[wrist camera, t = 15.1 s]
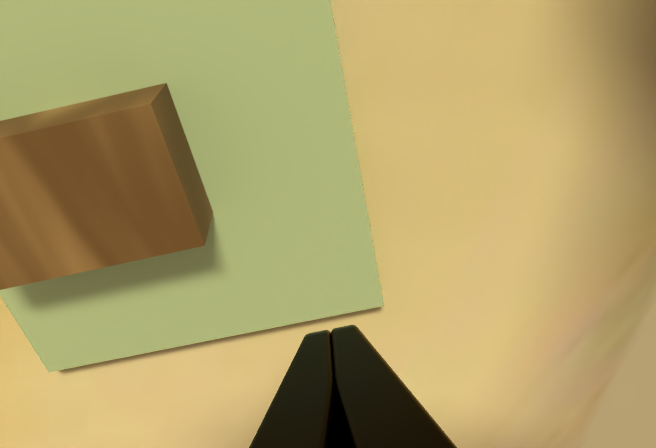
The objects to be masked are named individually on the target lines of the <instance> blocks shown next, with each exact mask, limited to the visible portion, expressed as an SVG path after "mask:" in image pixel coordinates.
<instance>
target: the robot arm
mask: <svg viewBox="0 0 656 448" xmlns="http://www.w3.org/2000/svg"><path fill="white" fill-rule="evenodd" d="M249 448H457V447H456V446H455V445H454V444H453V442H452V441H451V440H450V439H449V438H448V436H447V435H446V434H445V433H444V431H443V430H442V429H441V428H440V427H439V425H438V424H437V423H436V422H435V421H434V419H433V418H432V417H431V416H430V415H429V413H428V412H427V411H426V410H425V408H424V407H423V406H422V405H421V404H420V402H419V401H418V400H417V399H416V398H415V396H414V395H413V394H412V393H411V392H410V390H409V389H408V388H407V387H406V386H405V384H404V383H403V382H402V381H401V379H400V378H399V377H398V376H397V375H396V373H395V372H394V371H393V370H392V369H391V367H390V366H389V365H388V364H387V363H386V361H385V360H384V359H383V358H382V357H381V355H380V354H379V353H378V352H377V350H376V349H375V348H374V347H373V346H372V344H371V343H370V342H369V341H368V340H367V338H366V337H365V336H364V335H363V334H362V332H361V331H360V330H359V329H358V328H357V327H356V326H355V325H349V326H344V327H339V328H334V329H333V330H332V332H330V331H328V330H324V331H319V332H314V333H309V334H307V335H306V336H305V337H304V339H303V341H302V343H301V345H300V347H299V349H298V351H297V353H296V355H295V357H294V359H293V361H292V363H291V365H290V367H289V369H288V371H287V373H286V375H285V377H284V379H283V381H282V383H281V385H280V387H279V389H278V391H277V393H276V395H275V397H274V399H273V401H272V403H271V405H270V407H269V409H268V411H267V413H266V415H265V417H264V419H263V421H262V423H261V425H260V427H259V429H258V431H257V433H256V435H255V437H254V439H253V441H252V443H251V445H250V447H249Z"/></svg>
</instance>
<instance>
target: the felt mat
mask: <svg viewBox="0 0 656 448" xmlns="http://www.w3.org/2000/svg"><path fill="white" fill-rule="evenodd" d="M164 83H167V85H168V88H169V91H170V94H171V97H172V99H173V102H174V105H175V108H176V110H177V113H178V116H179V119H180V122H181V124H182V127H183V130H184V133H185V135H186V138H187V141H188V144H189V146H190V149H191V152H192V155H193V158H194V160H195V163H196V166H197V169H198V171H199V174H200V177H201V180H202V183H203V185H204V188H205V191H206V194H207V196H208V199H209V202H210V205H211V207H212V210H213V216H212V220H211V223H210V227H209V231H208V235H207V239H206V243H205V246H201V247H197V248H192V249H187V250H183V251H178V252H174V253H169V254H164V255H160V256H155V257H150V258H146V259H141V260H137V261H132V262H127V263H123V264H118V265H113V266H109V267H104V268H100V269H95V270H90V271H86V272H81V273H76V274H72V275H67V276H63V277H58V278H53V279H49V280H44V281H40V282H35V283H30V284H26V285H21V286H16V287H12V288H7V289H3V290H0V296H1V298H2V299H3V301H4V303H5V304H6V306H7V307H8V309H9V310H10V312H11V314H12V315H13V317H14V318H15V320H16V321H17V323H18V325H19V326H20V328H21V329H22V331H23V333H24V334H25V336H26V337H27V339H28V340H29V342H30V344H31V345H32V347H33V348H34V350H35V351H36V353H37V355H38V356H39V358H40V359H41V361H42V362H43V364H44V366H45V367H46V369H47V370H48V372H53V371H58V370H63V369H68V368H73V367H78V366H83V365H88V364H93V363H99V362H104V361H109V360H114V359H119V358H124V357H129V356H134V355H139V354H144V353H149V352H154V351H159V350H164V349H169V348H174V347H179V346H184V345H189V344H194V343H199V342H205V341H210V340H215V339H220V338H225V337H230V336H235V335H240V334H245V333H250V332H255V331H260V330H265V329H270V328H275V327H280V326H285V325H290V324H295V323H300V322H305V321H311V320H316V319H321V318H326V317H331V316H336V315H341V314H346V313H351V312H356V311H361V310H366V309H371V308H376V307H381V306H384V303H383V297H382V292H381V286H380V280H379V275H378V269H377V263H376V257H375V252H374V246H373V240H372V235H371V229H370V223H369V218H368V212H367V206H366V201H365V195H364V189H363V184H362V178H361V172H360V167H359V161H358V155H357V150H356V144H355V138H354V132H353V127H352V121H351V115H350V110H349V104H348V98H347V93H346V87H345V81H344V76H343V70H342V64H341V59H340V53H339V47H338V42H337V36H336V30H335V25H334V19H333V13H332V7H331V2H330V0H0V121H2V120H7V119H11V118H15V117H20V116H24V115H28V114H33V113H37V112H41V111H46V110H50V109H55V108H59V107H63V106H68V105H72V104H76V103H81V102H85V101H90V100H94V99H98V98H103V97H107V96H111V95H116V94H120V93H124V92H129V91H133V90H138V89H142V88H146V87H151V86H155V85H159V84H164Z"/></svg>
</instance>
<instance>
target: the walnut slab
mask: <svg viewBox="0 0 656 448" xmlns="http://www.w3.org/2000/svg"><path fill="white" fill-rule="evenodd" d="M212 216H213V210H212V207H211V205H210V202H209V199H208V196H207V194H206V191H205V188H204V185H203V183H202V180H201V177H200V174H199V171H198V169H197V166H196V163H195V160H194V158H193V155H192V152H191V149H190V146H189V144H188V141H187V138H186V135H185V133H184V130H183V127H182V124H181V122H180V119H179V116H178V113H177V110H176V108H175V105H174V102H173V99H172V97H171V94H170V91H169V88H168V85H167V83H164V84H159V85H155V86H151V87H146V88H142V89H138V90H133V91H129V92H124V93H120V94H116V95H111V96H107V97H103V98H98V99H94V100H90V101H85V102H81V103H76V104H72V105H68V106H63V107H59V108H55V109H50V110H46V111H41V112H37V113H33V114H28V115H24V116H20V117H15V118H11V119H7V120H2V121H0V290H3V289H7V288H12V287H16V286H21V285H26V284H30V283H35V282H40V281H44V280H49V279H53V278H58V277H63V276H67V275H72V274H76V273H81V272H86V271H90V270H95V269H100V268H104V267H109V266H113V265H118V264H123V263H127V262H132V261H137V260H141V259H146V258H150V257H155V256H160V255H164V254H169V253H174V252H178V251H183V250H187V249H192V248H197V247H201V246H205V243H206V239H207V235H208V231H209V227H210V223H211V220H212Z"/></svg>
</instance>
